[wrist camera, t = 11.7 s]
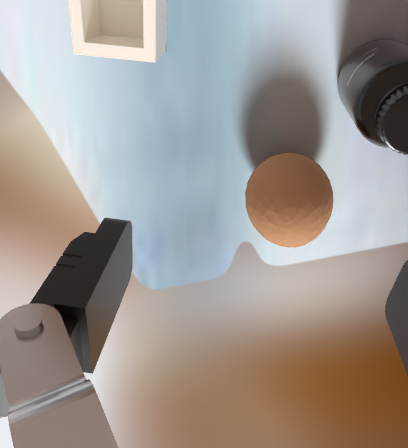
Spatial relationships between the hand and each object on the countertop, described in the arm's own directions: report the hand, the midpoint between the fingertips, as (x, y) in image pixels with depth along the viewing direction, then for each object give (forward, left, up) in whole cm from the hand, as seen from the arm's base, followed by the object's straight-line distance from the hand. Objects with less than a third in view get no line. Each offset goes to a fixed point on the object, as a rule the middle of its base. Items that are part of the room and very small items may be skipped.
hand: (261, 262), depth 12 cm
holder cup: (+12, -4, -30) cm, 32 cm away
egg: (-5, +11, -30) cm, 32 cm away
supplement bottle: (-11, 0, -30) cm, 32 cm away
